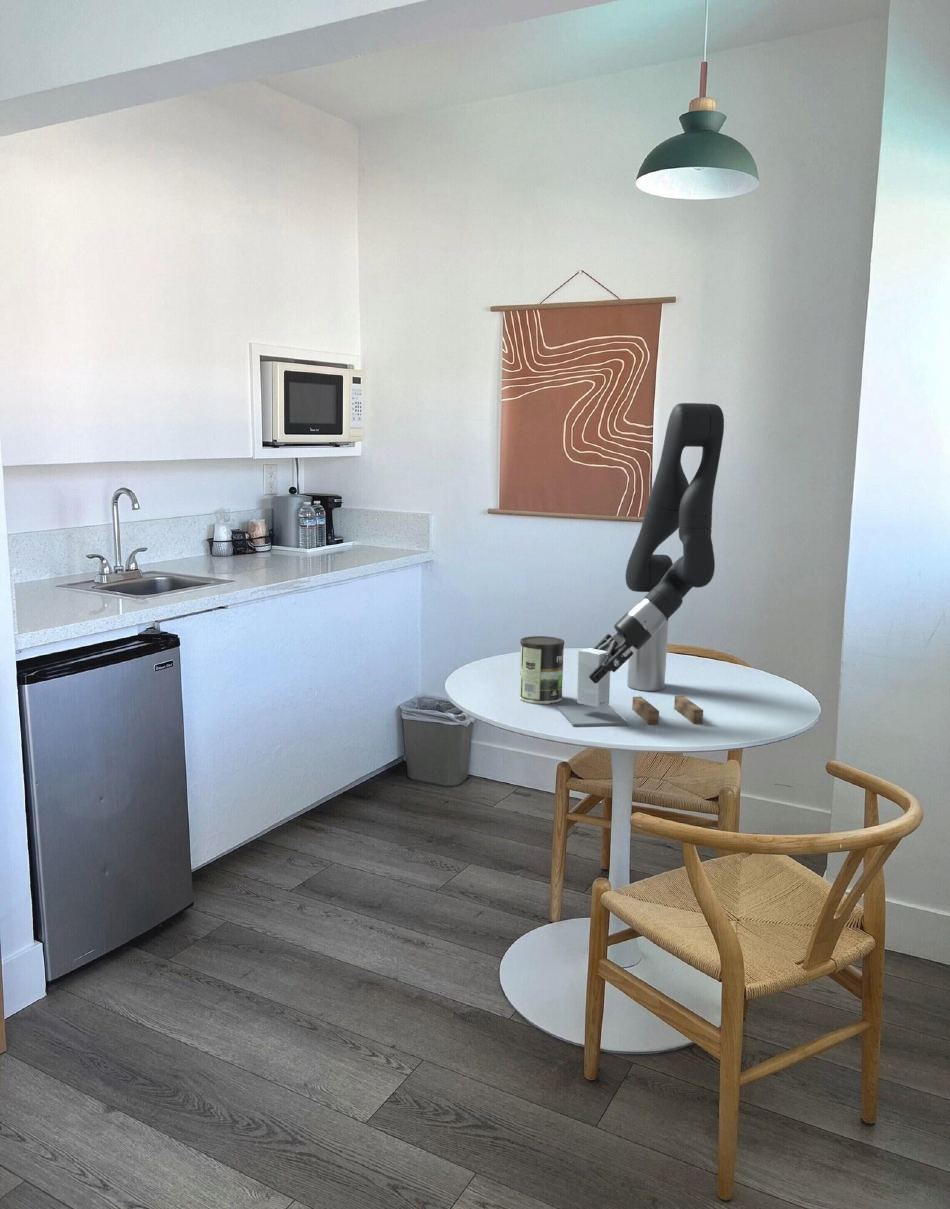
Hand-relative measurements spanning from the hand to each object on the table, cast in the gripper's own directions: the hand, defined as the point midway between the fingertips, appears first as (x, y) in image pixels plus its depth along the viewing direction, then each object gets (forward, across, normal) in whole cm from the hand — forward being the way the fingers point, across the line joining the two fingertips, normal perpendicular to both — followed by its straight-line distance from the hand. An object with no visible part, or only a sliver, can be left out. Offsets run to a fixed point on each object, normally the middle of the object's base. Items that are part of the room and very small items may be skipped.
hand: (587, 676), depth 207 cm
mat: (+6, 0, +8) cm, 9 cm away
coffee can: (+11, -16, +2) cm, 20 cm away
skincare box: (+4, 0, +6) cm, 7 cm away
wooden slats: (-6, +1, +20) cm, 21 cm away
